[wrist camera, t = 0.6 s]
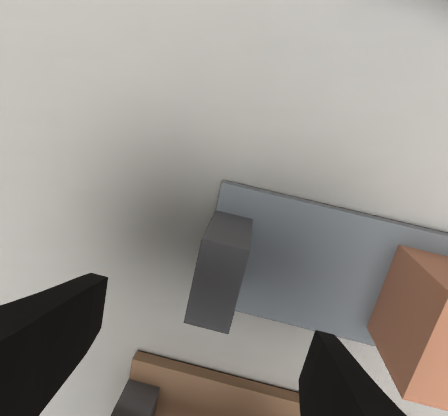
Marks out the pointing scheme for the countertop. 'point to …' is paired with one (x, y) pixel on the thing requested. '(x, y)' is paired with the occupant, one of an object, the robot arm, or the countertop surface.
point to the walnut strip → (197, 392)
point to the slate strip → (296, 262)
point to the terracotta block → (415, 325)
